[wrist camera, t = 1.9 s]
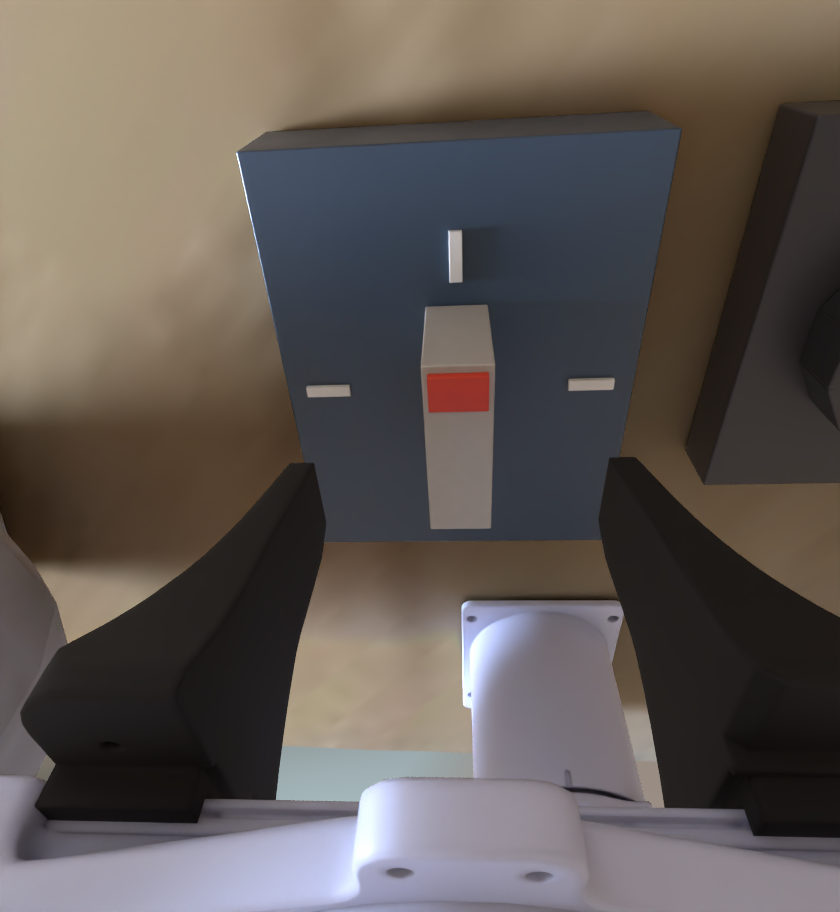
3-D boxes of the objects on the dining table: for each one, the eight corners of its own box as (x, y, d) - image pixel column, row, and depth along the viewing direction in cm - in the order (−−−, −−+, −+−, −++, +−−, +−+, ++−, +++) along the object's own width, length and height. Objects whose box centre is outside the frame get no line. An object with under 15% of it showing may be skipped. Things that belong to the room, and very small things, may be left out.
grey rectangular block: (485, 455, 20) (491, 534, 17) (433, 456, 20) (430, 535, 17) (488, 304, 17) (495, 368, 14) (425, 305, 17) (420, 370, 14)
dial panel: (589, 489, 25) (604, 543, 22) (333, 493, 26) (321, 545, 23) (649, 110, 16) (685, 128, 14) (264, 131, 17) (233, 152, 15)
